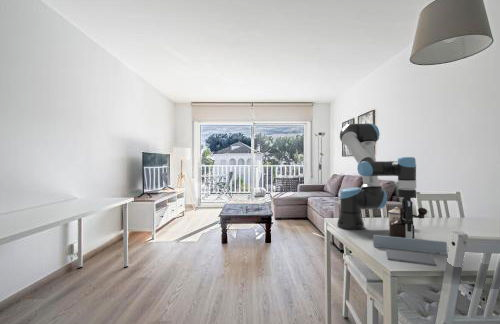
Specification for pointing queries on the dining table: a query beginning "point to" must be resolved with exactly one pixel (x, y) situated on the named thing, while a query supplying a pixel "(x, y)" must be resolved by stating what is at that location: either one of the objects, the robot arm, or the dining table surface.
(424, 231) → the dining table surface
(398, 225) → the coffee grinder
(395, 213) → the teacup with lid
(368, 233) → the dining table surface
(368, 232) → the dining table surface
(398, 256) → the slate mat
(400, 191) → the robot arm
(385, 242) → the low wall
